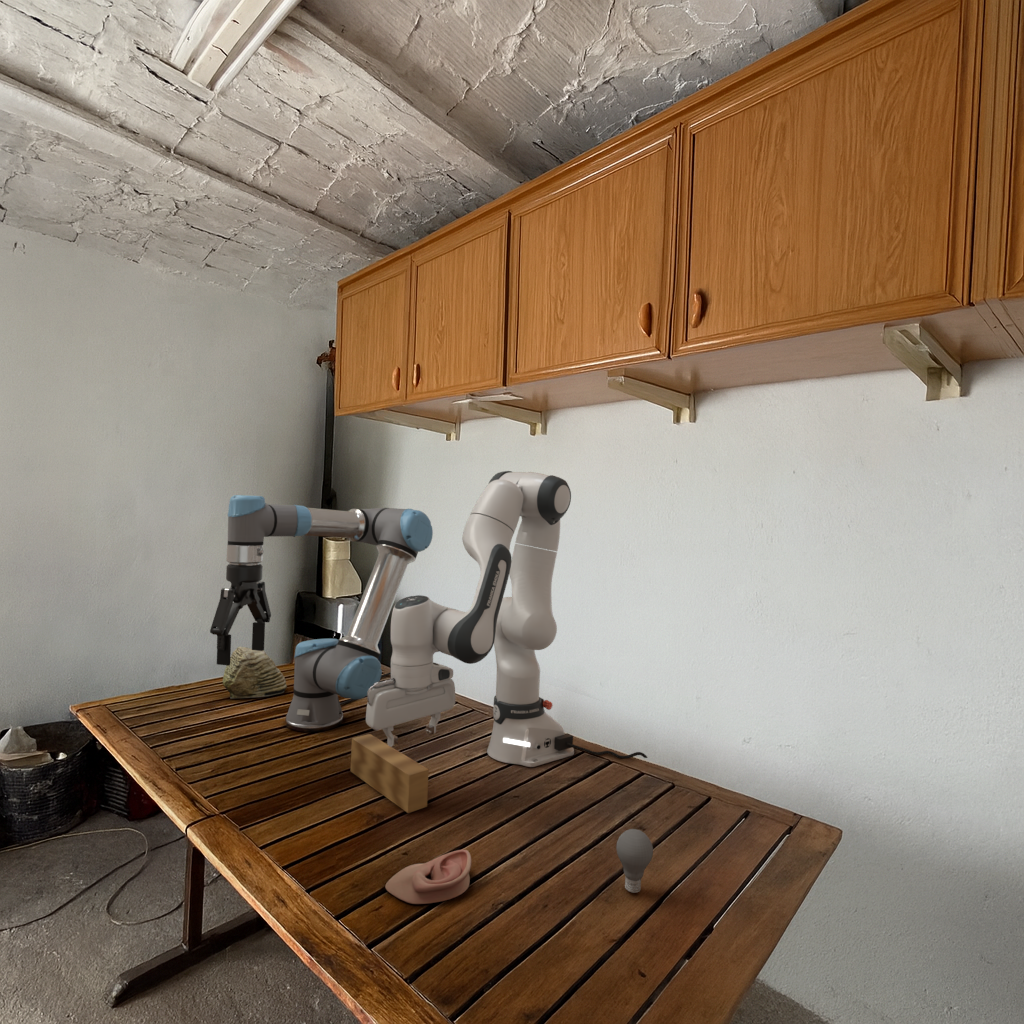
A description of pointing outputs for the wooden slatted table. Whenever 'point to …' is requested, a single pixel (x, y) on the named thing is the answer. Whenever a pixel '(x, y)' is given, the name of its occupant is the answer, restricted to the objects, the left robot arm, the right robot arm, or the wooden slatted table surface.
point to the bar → (390, 772)
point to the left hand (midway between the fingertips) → (241, 657)
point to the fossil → (252, 675)
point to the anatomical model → (432, 879)
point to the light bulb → (634, 857)
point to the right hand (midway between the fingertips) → (412, 739)
